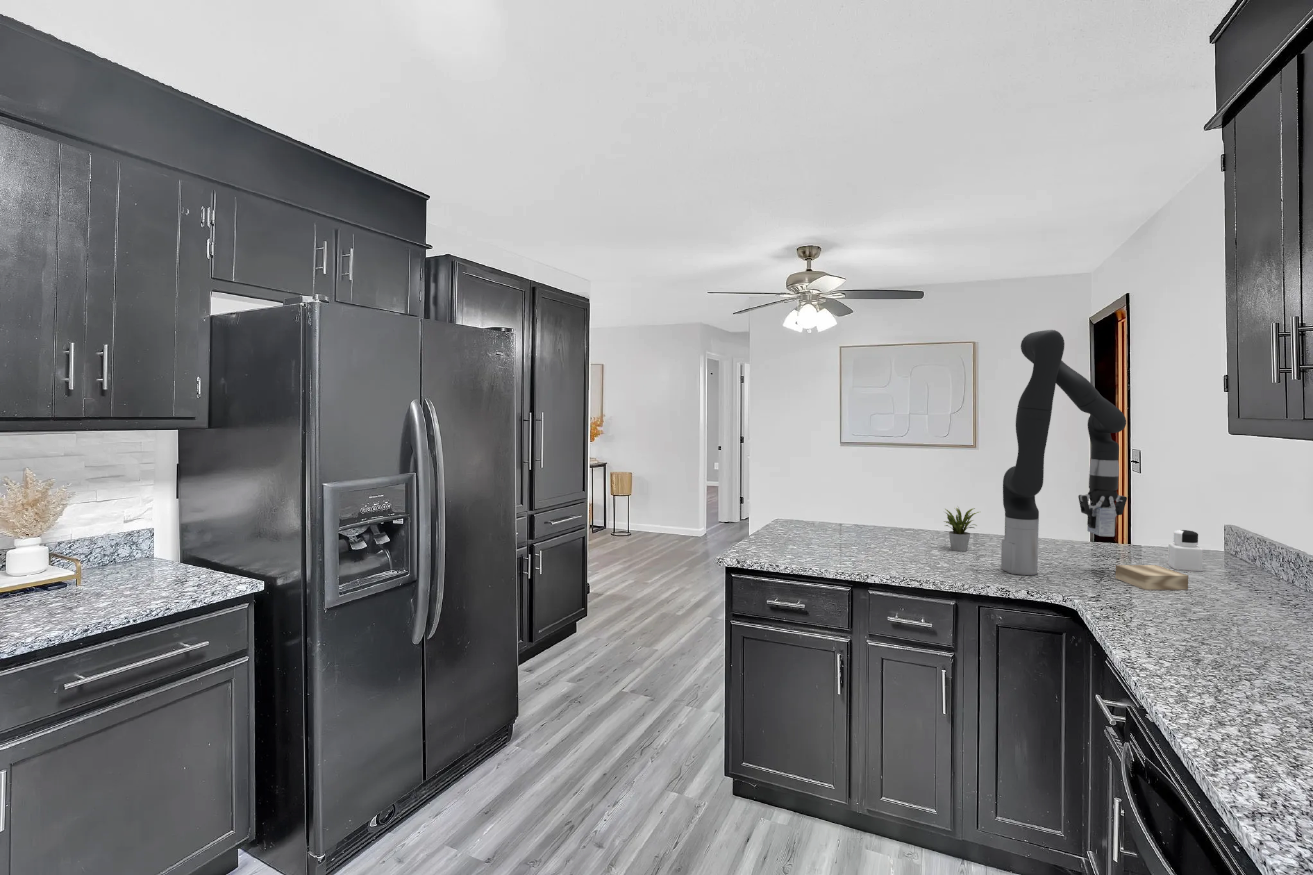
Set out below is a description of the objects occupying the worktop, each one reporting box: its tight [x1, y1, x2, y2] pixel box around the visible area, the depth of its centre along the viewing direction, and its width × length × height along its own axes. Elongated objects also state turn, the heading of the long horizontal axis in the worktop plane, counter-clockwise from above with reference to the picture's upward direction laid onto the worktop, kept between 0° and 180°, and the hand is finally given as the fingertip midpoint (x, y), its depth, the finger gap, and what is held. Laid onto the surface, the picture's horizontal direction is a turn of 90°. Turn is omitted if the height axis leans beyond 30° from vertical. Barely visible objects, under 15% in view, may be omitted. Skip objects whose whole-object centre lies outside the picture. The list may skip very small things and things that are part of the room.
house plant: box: [943, 506, 980, 552], centre depth 233 cm, size 14×14×16 cm
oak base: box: [1115, 564, 1189, 591], centre depth 188 cm, size 12×12×4 cm
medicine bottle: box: [1167, 529, 1204, 572], centre depth 205 cm, size 7×7×12 cm
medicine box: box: [1087, 505, 1116, 538], centre depth 201 cm, size 8×4×9 cm, turn 169°
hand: (1100, 527), depth 202 cm, fingers closed on medicine box, 5 cm apart
